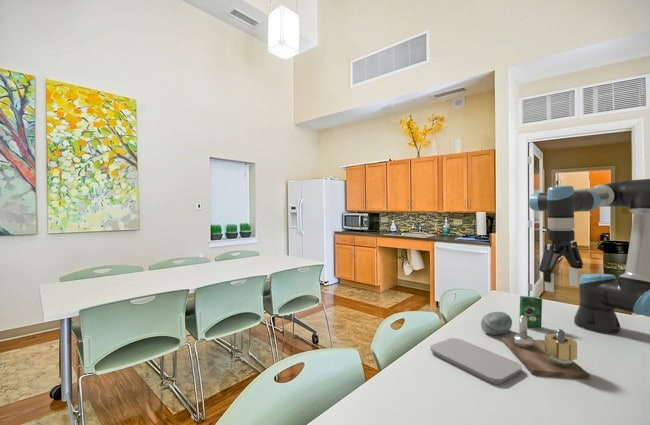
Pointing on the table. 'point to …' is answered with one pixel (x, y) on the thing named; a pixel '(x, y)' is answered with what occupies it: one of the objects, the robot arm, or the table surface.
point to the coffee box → (531, 310)
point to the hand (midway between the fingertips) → (561, 288)
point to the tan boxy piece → (561, 347)
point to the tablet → (476, 360)
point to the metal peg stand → (555, 361)
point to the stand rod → (523, 335)
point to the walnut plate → (543, 361)
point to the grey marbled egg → (496, 323)
